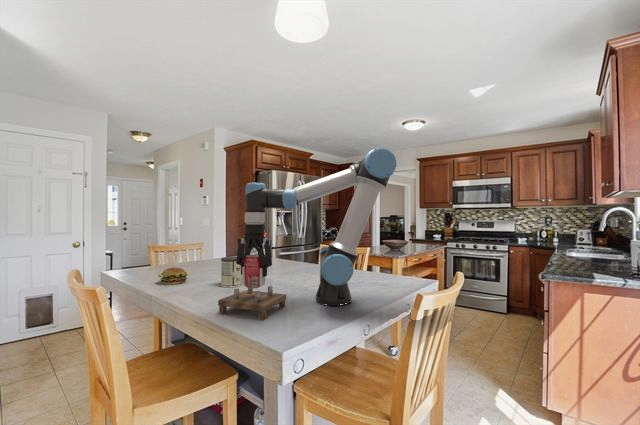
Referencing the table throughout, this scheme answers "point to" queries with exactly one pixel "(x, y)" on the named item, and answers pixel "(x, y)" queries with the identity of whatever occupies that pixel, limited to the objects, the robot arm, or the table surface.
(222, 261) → the coffee can
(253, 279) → the soda can
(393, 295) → the table surface
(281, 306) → the peg shelf
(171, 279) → the food
